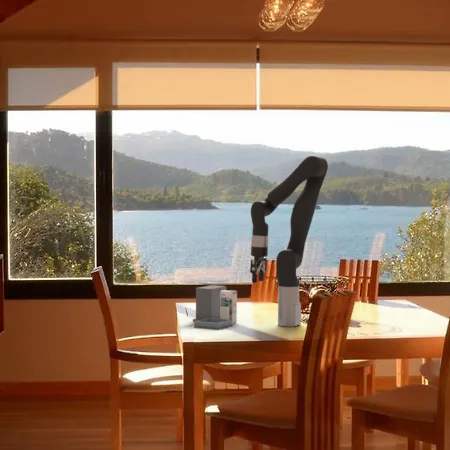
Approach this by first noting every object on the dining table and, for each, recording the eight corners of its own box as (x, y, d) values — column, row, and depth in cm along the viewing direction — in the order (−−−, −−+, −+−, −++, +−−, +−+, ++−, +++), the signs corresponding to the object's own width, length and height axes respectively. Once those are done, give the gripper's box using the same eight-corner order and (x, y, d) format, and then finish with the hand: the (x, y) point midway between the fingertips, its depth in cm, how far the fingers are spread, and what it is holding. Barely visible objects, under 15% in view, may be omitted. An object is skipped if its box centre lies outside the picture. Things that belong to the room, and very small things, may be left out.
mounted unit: (229, 318, 381) (229, 286, 380) (212, 323, 367) (212, 289, 366) (210, 316, 385) (210, 284, 385) (192, 321, 371) (192, 288, 371)
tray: (232, 325, 360) (232, 319, 360) (218, 329, 349) (218, 323, 349) (208, 323, 365) (208, 317, 365) (194, 327, 355) (194, 321, 355)
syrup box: (219, 323, 366) (219, 290, 365) (225, 321, 371) (226, 289, 371) (231, 324, 363) (231, 291, 363) (237, 322, 369) (237, 290, 368)
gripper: (262, 247, 360) (260, 284, 361) (272, 245, 373) (271, 281, 374) (245, 245, 363) (244, 282, 364) (257, 244, 376) (255, 279, 377)
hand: (257, 281), depth 369 cm, fingers open, 8 cm apart
